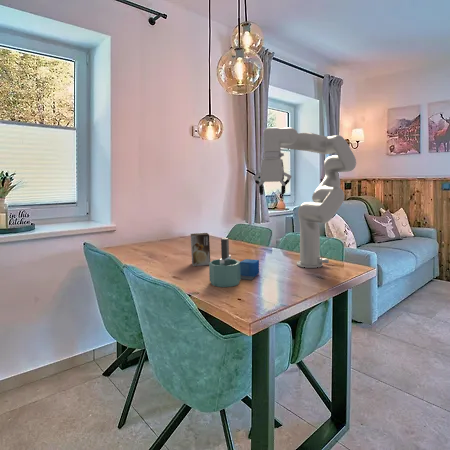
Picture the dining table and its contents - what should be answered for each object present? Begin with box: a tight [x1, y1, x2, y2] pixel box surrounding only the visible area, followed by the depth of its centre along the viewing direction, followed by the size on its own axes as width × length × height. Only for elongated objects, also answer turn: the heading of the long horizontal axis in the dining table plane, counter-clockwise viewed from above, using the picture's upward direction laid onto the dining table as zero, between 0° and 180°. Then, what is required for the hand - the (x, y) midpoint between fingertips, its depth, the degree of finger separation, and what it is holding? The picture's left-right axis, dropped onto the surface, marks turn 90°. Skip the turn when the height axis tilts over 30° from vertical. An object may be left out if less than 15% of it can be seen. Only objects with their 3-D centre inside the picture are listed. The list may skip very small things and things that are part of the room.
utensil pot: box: [208, 258, 242, 288], centre depth 148 cm, size 12×12×9 cm
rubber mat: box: [240, 274, 255, 281], centre depth 157 cm, size 12×9×1 cm
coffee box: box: [190, 232, 211, 267], centre depth 180 cm, size 9×6×16 cm
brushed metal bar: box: [219, 237, 232, 266], centre depth 148 cm, size 2×9×18 cm, turn 162°
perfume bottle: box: [240, 258, 260, 278], centre depth 160 cm, size 6×6×12 cm
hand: (272, 194), depth 158 cm, fingers open, 9 cm apart
